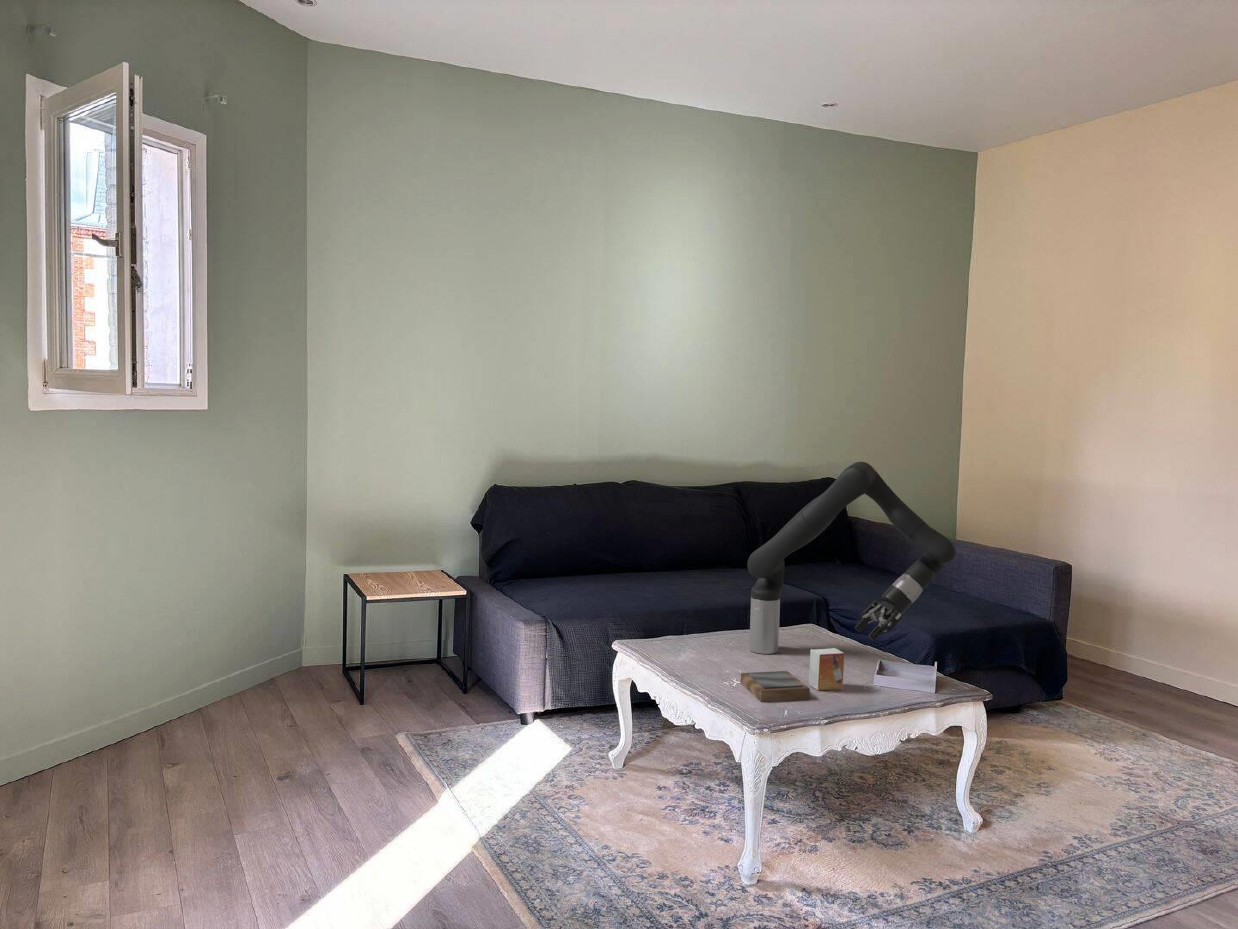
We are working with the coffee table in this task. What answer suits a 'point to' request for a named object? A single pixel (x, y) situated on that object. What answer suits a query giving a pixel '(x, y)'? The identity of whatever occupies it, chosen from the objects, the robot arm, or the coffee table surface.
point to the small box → (826, 669)
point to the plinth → (774, 686)
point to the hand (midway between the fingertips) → (864, 634)
